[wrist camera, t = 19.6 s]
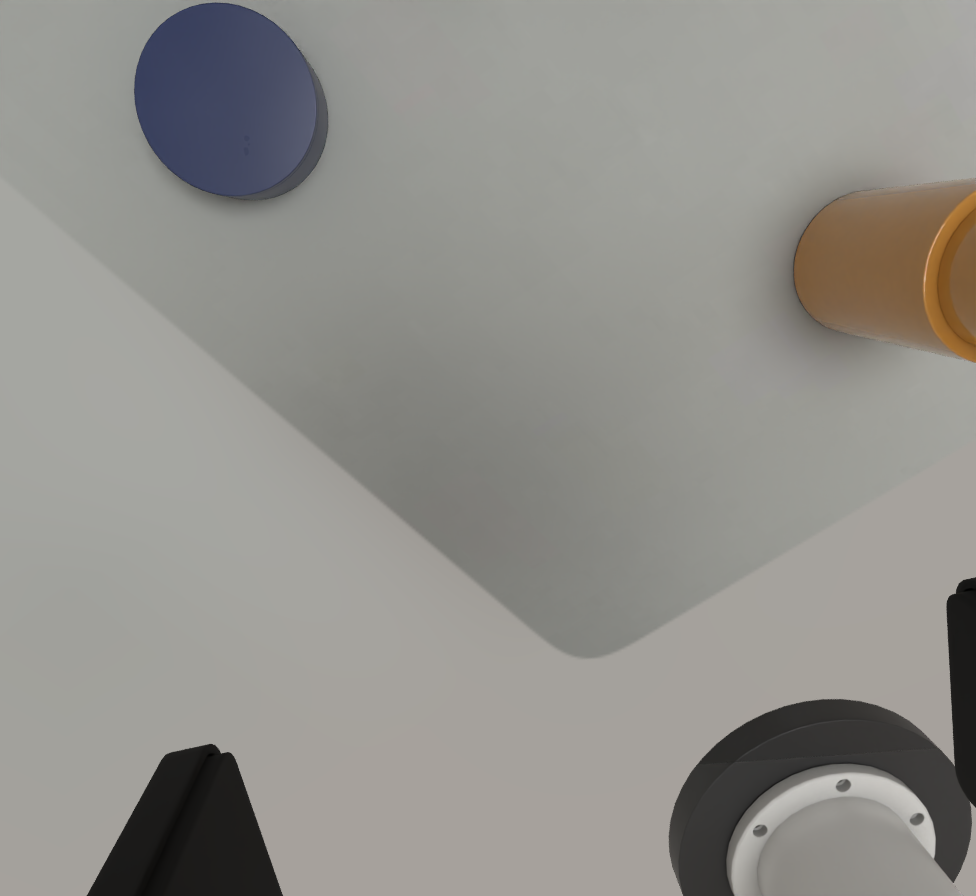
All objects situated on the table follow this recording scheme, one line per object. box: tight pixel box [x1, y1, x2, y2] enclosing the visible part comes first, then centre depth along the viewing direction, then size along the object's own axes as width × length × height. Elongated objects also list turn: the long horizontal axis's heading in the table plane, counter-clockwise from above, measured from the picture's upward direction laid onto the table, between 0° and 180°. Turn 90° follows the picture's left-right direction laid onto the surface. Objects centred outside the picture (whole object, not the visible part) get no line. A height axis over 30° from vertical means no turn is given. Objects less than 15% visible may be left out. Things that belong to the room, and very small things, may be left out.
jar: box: [794, 178, 976, 363], centre depth 30 cm, size 7×7×13 cm
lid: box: [134, 3, 328, 200], centre depth 31 cm, size 7×7×3 cm
